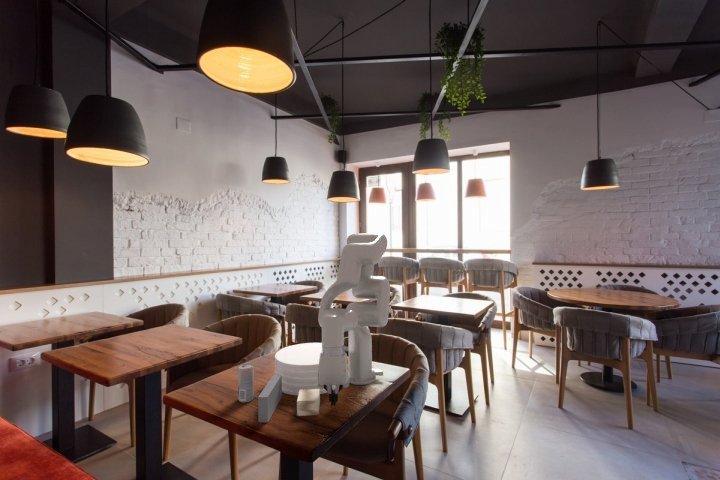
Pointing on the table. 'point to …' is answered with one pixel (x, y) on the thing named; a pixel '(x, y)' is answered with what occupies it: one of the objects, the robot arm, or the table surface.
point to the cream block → (308, 402)
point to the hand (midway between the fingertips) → (333, 403)
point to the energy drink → (245, 383)
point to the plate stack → (299, 367)
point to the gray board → (269, 398)
